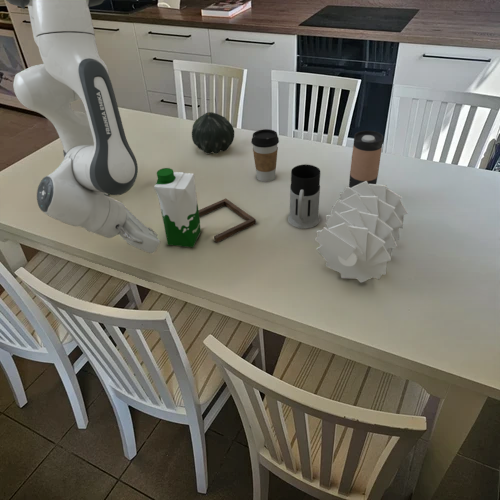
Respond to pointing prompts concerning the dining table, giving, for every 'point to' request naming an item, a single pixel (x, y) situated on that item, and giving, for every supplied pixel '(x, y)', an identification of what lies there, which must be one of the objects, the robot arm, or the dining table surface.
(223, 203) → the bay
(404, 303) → the dining table surface
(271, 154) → the coffee cup
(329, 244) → the spiral staircase
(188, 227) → the soya milk
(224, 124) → the squash
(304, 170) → the glass holder
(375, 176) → the travel mug
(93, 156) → the robot arm
